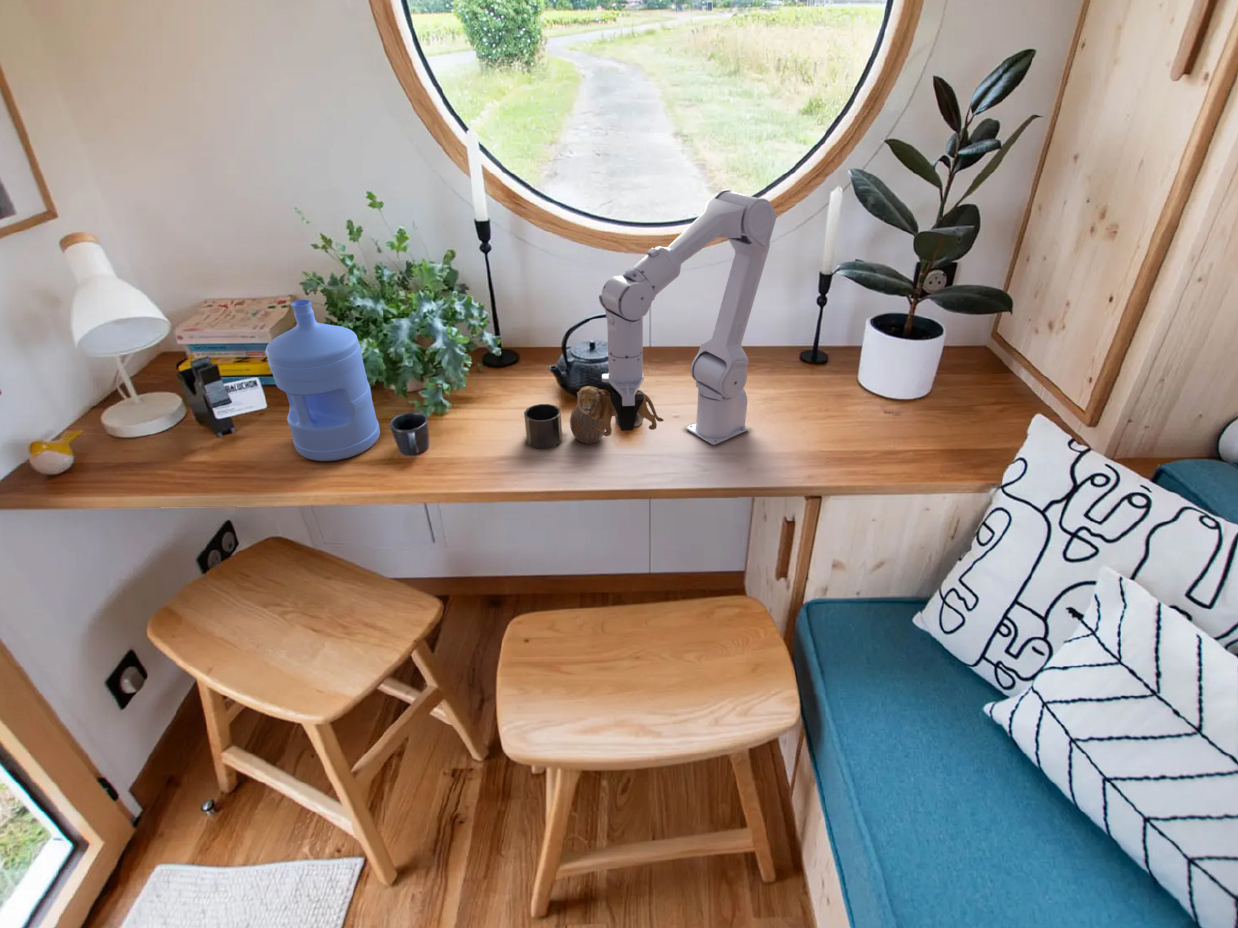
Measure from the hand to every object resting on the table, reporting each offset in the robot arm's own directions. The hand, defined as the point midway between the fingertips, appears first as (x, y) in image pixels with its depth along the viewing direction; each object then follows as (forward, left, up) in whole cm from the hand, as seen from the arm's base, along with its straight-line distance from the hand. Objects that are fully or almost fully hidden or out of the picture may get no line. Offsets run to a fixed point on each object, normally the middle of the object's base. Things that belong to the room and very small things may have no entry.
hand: (626, 423), depth 120 cm
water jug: (+39, -41, -9) cm, 57 cm away
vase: (0, -12, -9) cm, 15 cm away
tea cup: (+7, -17, -9) cm, 20 cm away
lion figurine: (+1, 0, -1) cm, 2 cm away
